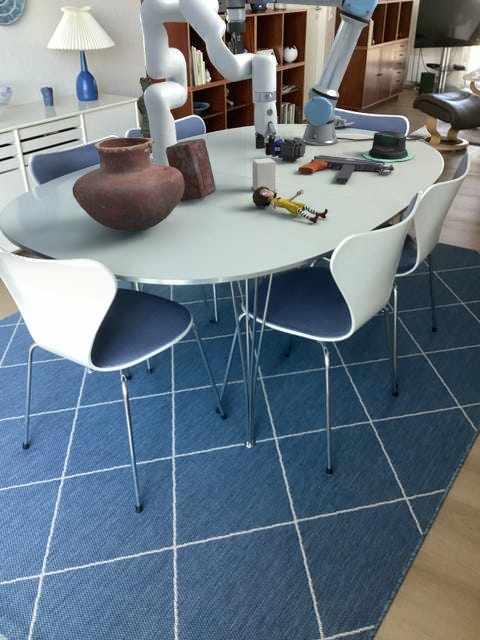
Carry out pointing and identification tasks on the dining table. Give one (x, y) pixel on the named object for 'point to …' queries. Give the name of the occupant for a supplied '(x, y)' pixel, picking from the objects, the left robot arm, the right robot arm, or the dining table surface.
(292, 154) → the toy
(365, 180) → the dining table surface
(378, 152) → the dark porkpie hat
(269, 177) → the brick
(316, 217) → the figurine
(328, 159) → the submachine gun
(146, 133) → the statue
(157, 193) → the clay pot
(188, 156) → the rough terracotta slab
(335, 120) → the camera
